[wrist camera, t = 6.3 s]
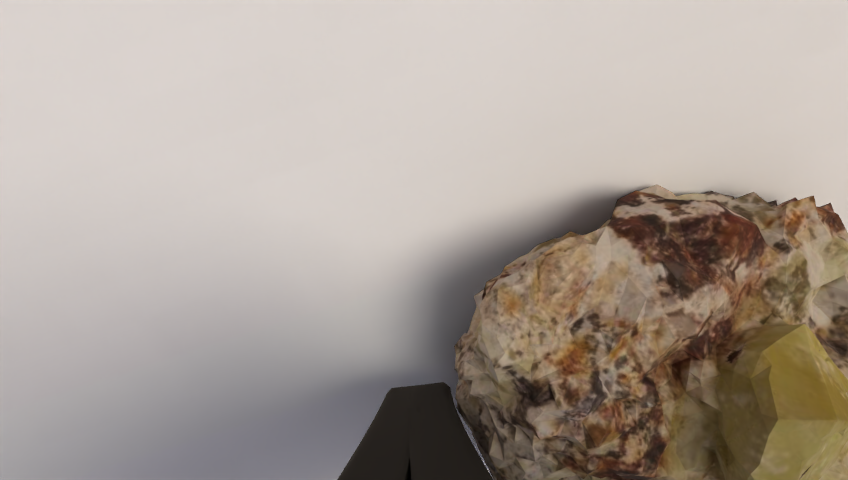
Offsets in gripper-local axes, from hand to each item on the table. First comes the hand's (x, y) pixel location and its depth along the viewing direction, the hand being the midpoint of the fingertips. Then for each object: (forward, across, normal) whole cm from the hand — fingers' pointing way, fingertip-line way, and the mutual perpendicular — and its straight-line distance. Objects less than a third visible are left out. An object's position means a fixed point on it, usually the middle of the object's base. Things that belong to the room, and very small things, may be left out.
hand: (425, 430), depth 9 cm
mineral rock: (+1, -6, 0) cm, 6 cm away
